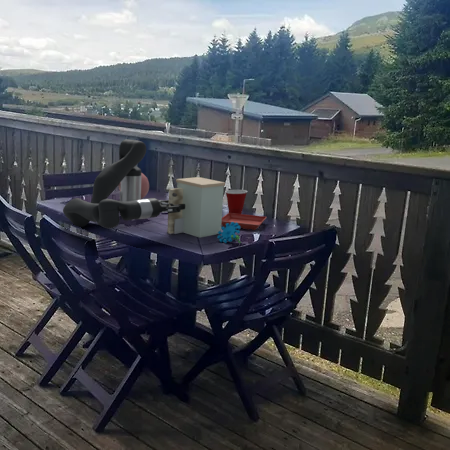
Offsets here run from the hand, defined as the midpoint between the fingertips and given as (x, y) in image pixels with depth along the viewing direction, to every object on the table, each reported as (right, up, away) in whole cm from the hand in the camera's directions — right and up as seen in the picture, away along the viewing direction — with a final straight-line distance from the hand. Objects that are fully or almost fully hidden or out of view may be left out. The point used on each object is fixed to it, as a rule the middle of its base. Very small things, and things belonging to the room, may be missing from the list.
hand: (177, 204), depth 215 cm
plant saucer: (+27, -9, +22) cm, 36 cm away
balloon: (-30, +4, +58) cm, 65 cm away
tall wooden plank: (-1, -11, +1) cm, 11 cm away
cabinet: (+7, -11, +3) cm, 14 cm away
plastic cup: (+24, -4, +40) cm, 47 cm away
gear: (+21, -15, -8) cm, 27 cm away
